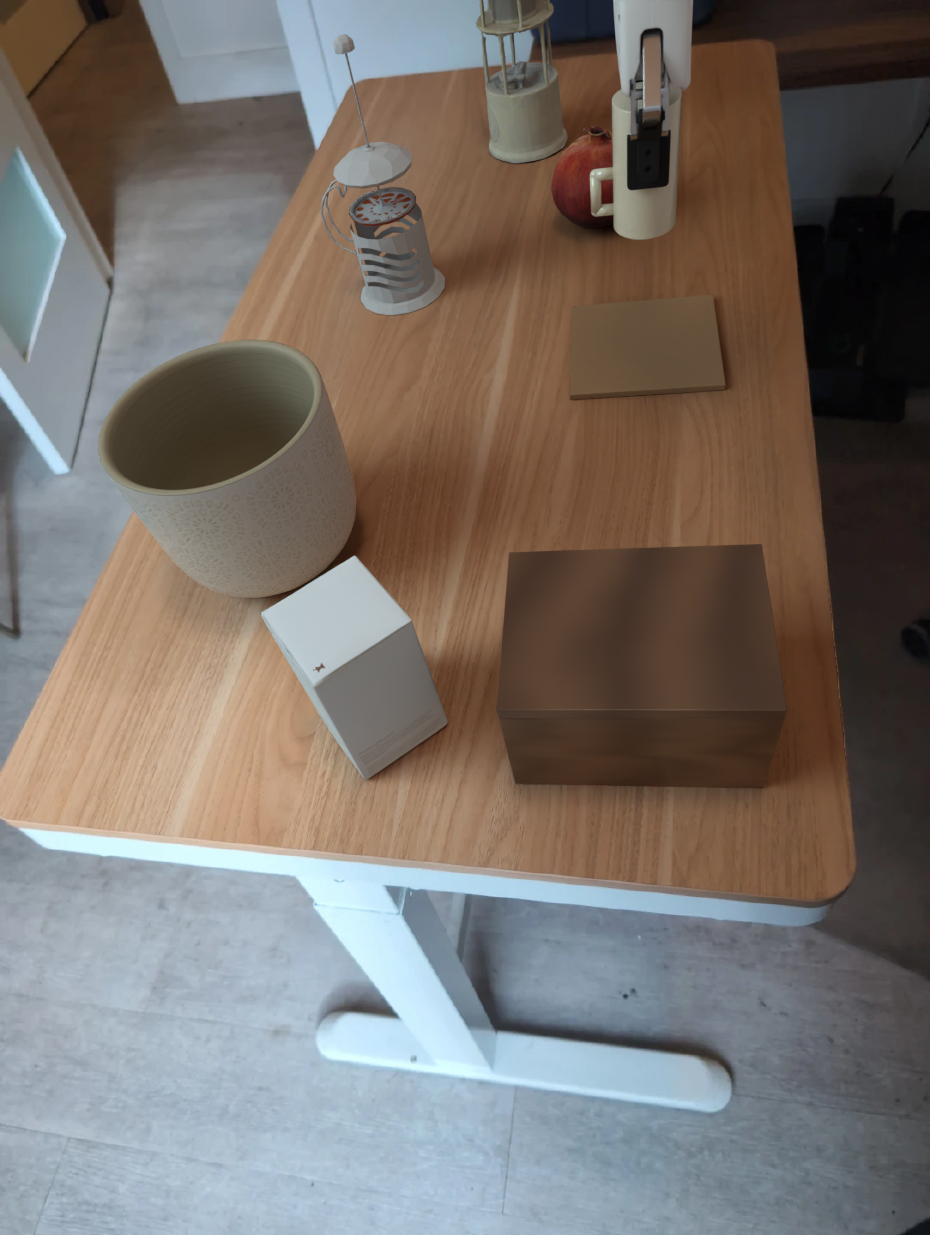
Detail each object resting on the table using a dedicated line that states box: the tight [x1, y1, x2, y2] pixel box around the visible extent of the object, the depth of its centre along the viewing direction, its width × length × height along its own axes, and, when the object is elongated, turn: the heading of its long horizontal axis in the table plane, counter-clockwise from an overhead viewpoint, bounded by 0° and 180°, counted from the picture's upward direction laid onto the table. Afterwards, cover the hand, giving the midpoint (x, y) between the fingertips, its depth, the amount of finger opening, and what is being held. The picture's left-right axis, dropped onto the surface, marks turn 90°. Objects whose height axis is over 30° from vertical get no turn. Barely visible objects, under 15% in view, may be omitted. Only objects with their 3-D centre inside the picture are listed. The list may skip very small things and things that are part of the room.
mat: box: [569, 293, 726, 401], centre depth 81 cm, size 14×14×1 cm
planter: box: [97, 339, 357, 599], centre depth 67 cm, size 17×17×15 cm
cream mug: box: [590, 81, 683, 241], centre depth 67 cm, size 7×5×10 cm
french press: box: [320, 33, 446, 316], centre depth 84 cm, size 10×12×25 cm
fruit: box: [550, 125, 613, 229], centre depth 92 cm, size 11×10×10 cm
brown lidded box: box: [496, 543, 788, 789], centre depth 54 cm, size 16×12×10 cm
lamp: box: [475, 0, 569, 164], centre depth 98 cm, size 10×13×30 cm
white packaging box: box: [260, 555, 449, 781], centre depth 56 cm, size 7×7×13 cm
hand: (646, 165), depth 67 cm, fingers closed on cream mug, 5 cm apart
